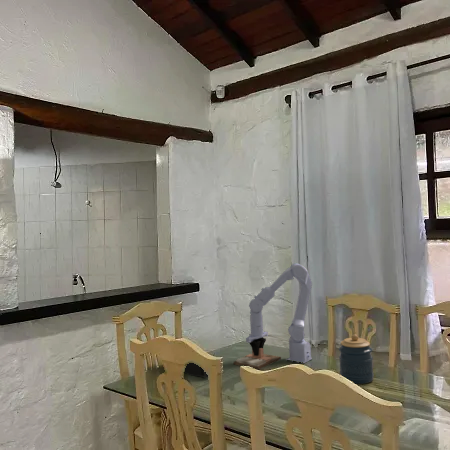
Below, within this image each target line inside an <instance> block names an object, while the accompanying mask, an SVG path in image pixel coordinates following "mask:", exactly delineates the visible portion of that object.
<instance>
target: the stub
mask: <svg viewBox="0 0 450 450" xmlns="http://www.w3.org/2000/svg"><path fill="white" fill-rule="evenodd" d="M251 352H252V353H249V354H247V355H244V356H245V357H251V358H256V359H261V360H266V362H268V361H270V360H271V358H270V357H264V354H265V353H264V347H263V348H259V355H258V356H254V353H253V350H252V349H251Z"/></svg>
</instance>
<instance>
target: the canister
mask: <svg viewBox="0 0 450 450" xmlns="http://www.w3.org/2000/svg"><path fill="white" fill-rule="evenodd" d="M340 345H341V346H339V347H338V350H339V356H338V359H339V375H340V374H341V375H342V376H344V377H346V378H347V379H349V380H351V381H353V382H354V383H353V384H369V383H372V382H373V380H374V376H375V375H374V374H375V372H374V368H373V367H374V366H373V364H374V363H373V360H374V358H373V356H372V352H373V348H372V347H371V346H370V345H371V342H369V341H367V340H366V338H361V337H359V336H358V334H352V335H351V337H347V338H344V339H343V340H341V341H340Z"/></svg>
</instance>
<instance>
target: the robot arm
mask: <svg viewBox="0 0 450 450" xmlns="http://www.w3.org/2000/svg"><path fill="white" fill-rule="evenodd" d="M294 278H295V279H296V280H297V281H298V283H299V284H300V286H299V291H298V297H297V302H296V307H295V311H294V315H293V319H292V321H291V324H290V325H289V326H288V329H287V332H288V334H289V336H290V337H289V338H288V353H289V357H288V358H285V361H287V360H292V361H291V362H293V360H294V361H297V362H296V363H299V362H301V363H300V364H305V363H307V362H309V361H311V360H313V358H312V347H311V343H310V342H309V341H306V340H305V336H306V334H305V318H306V315H307V310H308V305H309V301H310V296H311V290H312V286H313V282H312V279H311V276H310V274H309V271H308V269H307V268H306V267H305V266H304V265H302V264H300V263H297V262H296V263H292V264H291V265H290V267H288V268H286V269H285V270H284V271H283V272H282V273H281V274H280V275H279V276H278V277H277V278H276V279H275V281H274V282H273V283H272V284H271V285H270V286H265V287H262V288H261V291H260V292H259V293H258V294H257V295H254V297H253V299H251V300H250V301H249V304H248V307H249V309H250V311H249V314H250V316H249V317H250V319H249V320H250V321H249V322H250V323H249V324H250V325H249V326H250V333H249V336H247V337H245V341H246V343H249V345H250V347H251V351H252V350H253V353H254V356H258V355H259V348H263V349H264V346H265V343H266V341H267V338H265V337H268V336H269V332H268V331H264V324H263V323H264V321H263V309H264V307H265V306H266V305H267V304H268V303H269V302H270V301H271V300H272V299H273V298H274V297H275V295H276V293H275V292H277V290H278V289H279V288H280V287H282V286H283V285H284V284H285V283H286V282H287V281H291V280H294ZM298 361H299V362H298ZM302 362H303V363H302Z"/></svg>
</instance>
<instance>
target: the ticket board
mask: <svg viewBox="0 0 450 450" xmlns="http://www.w3.org/2000/svg"><path fill="white" fill-rule="evenodd" d="M245 356H246V355H244V356H243V357H239V358H237V359H236V360H235V361H233V363H232V364H233V365H235V366H239V367H242V366H241V365H244V366H250V367H253V368H252V369H254V368H256V369H255V370H261V369H263V368H265V367H267V366H269V365H271V364H273V363H275V362H278V361H280V360H281V359H282V357H281V356H278V355H271V354H268V353H267V354H265V353H264V357H270V358H271V360H270V361H268V362H266V360H261V359H256V358H251V357H245ZM279 359H280V360H279ZM244 366H243V367H244Z"/></svg>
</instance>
